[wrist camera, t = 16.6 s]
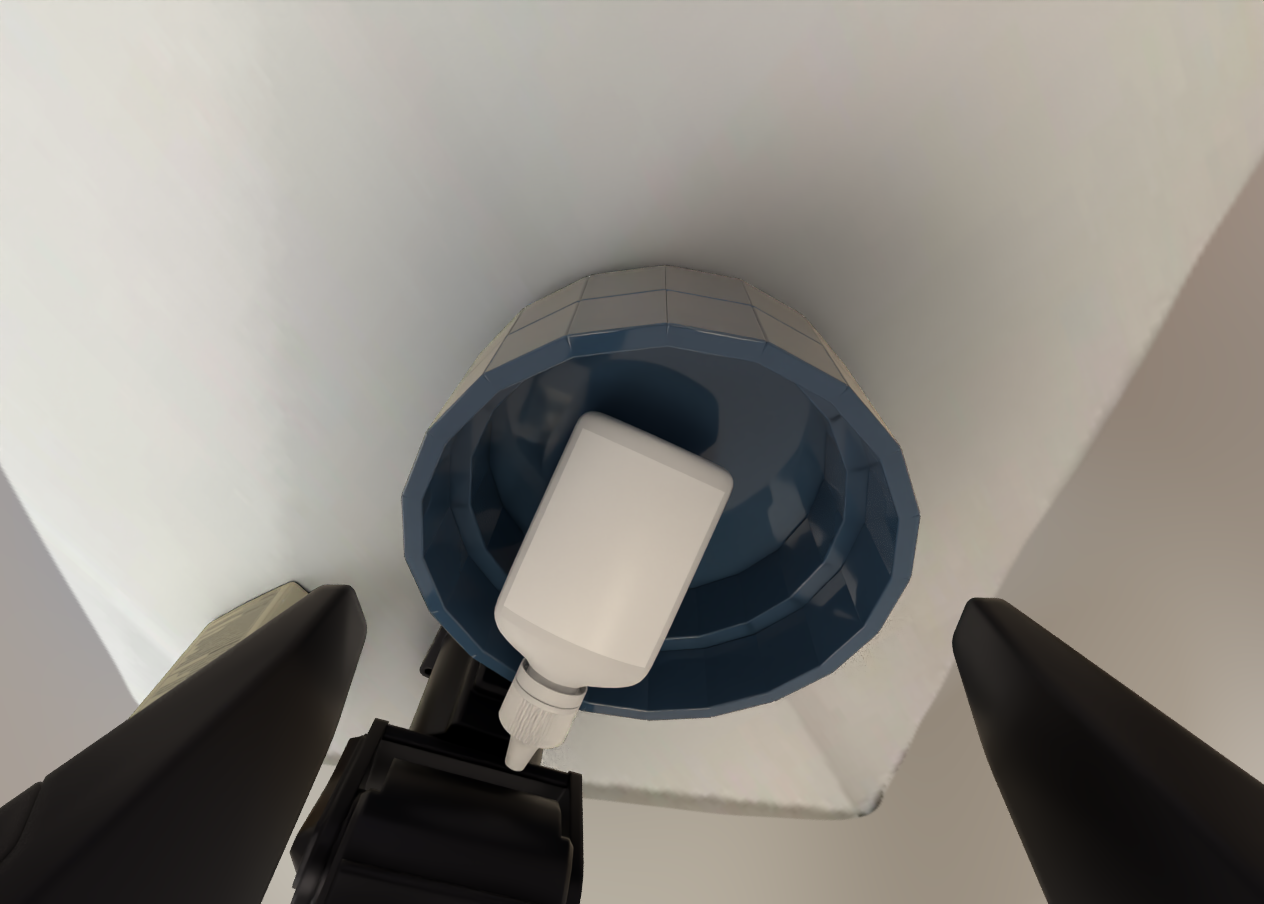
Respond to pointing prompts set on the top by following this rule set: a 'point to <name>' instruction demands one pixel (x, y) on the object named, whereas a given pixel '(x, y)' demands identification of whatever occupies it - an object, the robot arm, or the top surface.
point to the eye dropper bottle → (601, 572)
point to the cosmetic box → (226, 636)
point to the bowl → (702, 424)
